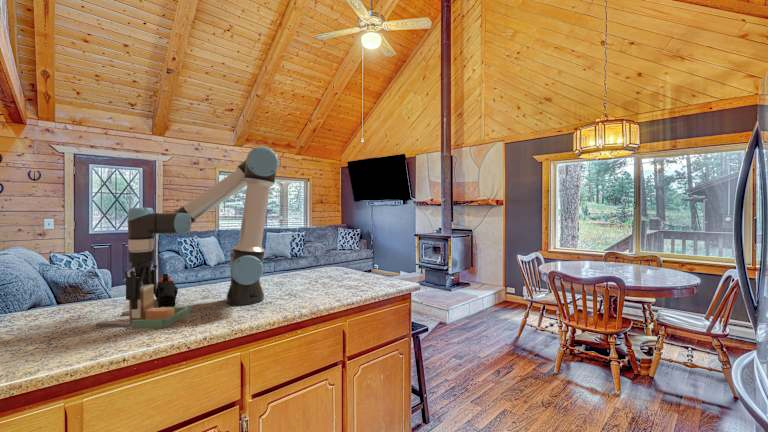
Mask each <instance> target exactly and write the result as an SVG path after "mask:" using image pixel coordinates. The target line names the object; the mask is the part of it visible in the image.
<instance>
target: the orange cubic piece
mask: <svg viewBox="0 0 768 432" xmlns="http://www.w3.org/2000/svg"><path fill="white" fill-rule="evenodd" d="M160 309H162V308H158V307H154V308H150V309H148V310H146V311H145V320H156V311H158V310H160Z"/></svg>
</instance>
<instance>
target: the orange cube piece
mask: <svg viewBox="0 0 768 432" xmlns="http://www.w3.org/2000/svg"><path fill="white" fill-rule="evenodd" d="M172 315H174V308H162V309H160V310H158V311H156V320H164V319H166V318H168V317H170V316H172Z"/></svg>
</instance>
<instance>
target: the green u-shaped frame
mask: <svg viewBox="0 0 768 432" xmlns="http://www.w3.org/2000/svg"><path fill="white" fill-rule="evenodd" d="M160 308H174V315H172V316H170V317H168V318H166V319H164V320H133V321H132V329H133V328H138V329H142V328H143V329H146V328H147V329H149V328H150V329H154V328H155V329H160V328H161V329H163V328H167V327H169V326H171V325H173V324H174V323H176V322H178V321H179V320H181V319H183V318H184V317H186V316H188V315H191V311H192V310H191V308H192V307H191V306H175V307H160Z"/></svg>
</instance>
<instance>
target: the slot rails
mask: <svg viewBox="0 0 768 432" xmlns="http://www.w3.org/2000/svg"><path fill="white" fill-rule="evenodd" d="M121 316H130V315H129V310H126V311H123V312H121ZM95 327H112V328H113V327H114V328H117V327H118V328H119V327H123V328H126V327H127V328H128V327H132V322H130V321H98V322H96V323H95Z"/></svg>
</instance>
